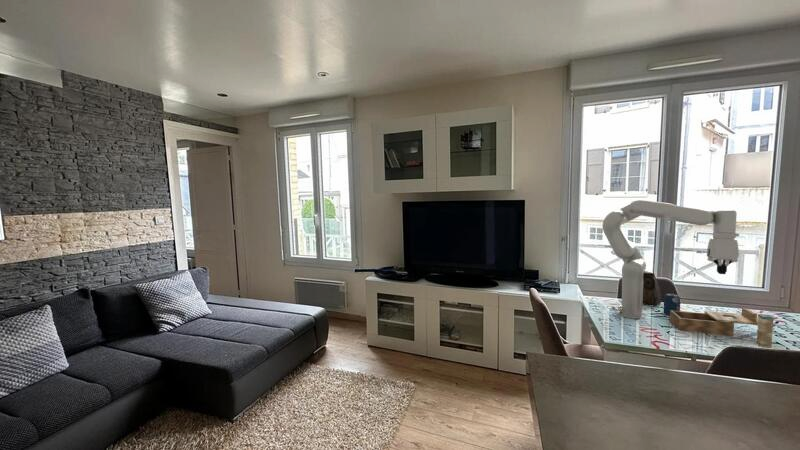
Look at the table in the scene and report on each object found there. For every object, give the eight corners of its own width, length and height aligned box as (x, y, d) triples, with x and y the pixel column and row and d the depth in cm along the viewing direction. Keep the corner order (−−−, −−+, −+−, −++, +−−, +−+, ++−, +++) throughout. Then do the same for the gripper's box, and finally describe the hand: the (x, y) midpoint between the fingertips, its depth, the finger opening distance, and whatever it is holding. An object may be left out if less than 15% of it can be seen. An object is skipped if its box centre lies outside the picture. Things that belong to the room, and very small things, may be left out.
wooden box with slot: (679, 332, 157) (680, 318, 156) (669, 323, 168) (670, 310, 167) (733, 338, 149) (734, 323, 149) (719, 328, 160) (720, 314, 160)
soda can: (681, 318, 173) (682, 297, 172) (665, 316, 176) (666, 295, 175) (677, 314, 179) (678, 293, 178) (661, 312, 182) (662, 292, 181)
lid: (717, 321, 151) (717, 312, 150) (704, 312, 162) (704, 304, 161) (775, 326, 143) (775, 317, 143) (757, 317, 154) (758, 308, 154)
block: (760, 348, 139) (763, 316, 138) (755, 344, 142) (757, 313, 141) (771, 349, 138) (774, 317, 137) (766, 345, 141) (768, 314, 140)
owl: (656, 307, 191) (658, 274, 190) (631, 302, 201) (632, 271, 199) (662, 302, 199) (663, 271, 198) (637, 297, 209) (639, 267, 207)
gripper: (739, 235, 152) (737, 272, 154) (699, 234, 158) (697, 270, 160) (749, 237, 145) (747, 276, 147) (707, 236, 151) (705, 274, 153)
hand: (721, 273), depth 153 cm, fingers closed
